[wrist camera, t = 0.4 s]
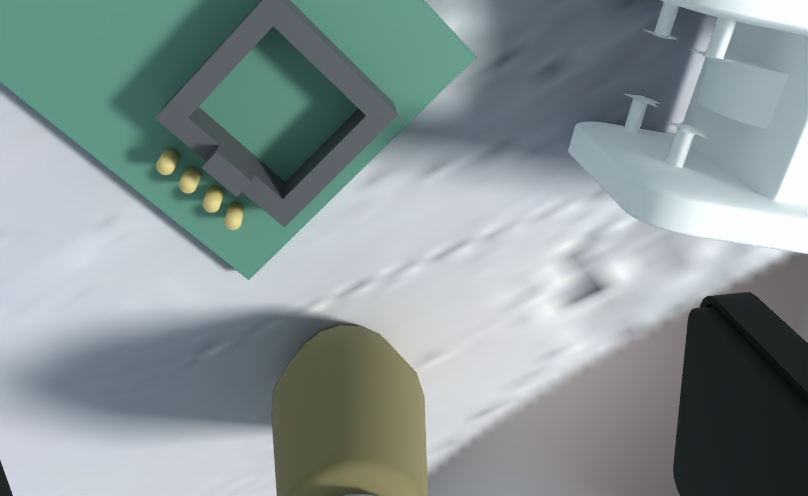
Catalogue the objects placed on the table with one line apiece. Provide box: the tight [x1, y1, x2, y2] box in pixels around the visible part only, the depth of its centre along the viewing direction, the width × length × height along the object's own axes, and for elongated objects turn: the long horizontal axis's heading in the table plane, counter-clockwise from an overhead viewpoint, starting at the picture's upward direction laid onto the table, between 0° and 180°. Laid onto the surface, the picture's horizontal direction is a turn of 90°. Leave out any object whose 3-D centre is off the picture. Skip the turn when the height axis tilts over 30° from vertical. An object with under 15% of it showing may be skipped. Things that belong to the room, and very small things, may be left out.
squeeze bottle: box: [272, 325, 428, 496], centre depth 36 cm, size 8×8×18 cm
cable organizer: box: [568, 0, 808, 254], centre depth 34 cm, size 15×11×12 cm
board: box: [0, 0, 476, 280], centre depth 33 cm, size 16×22×5 cm
